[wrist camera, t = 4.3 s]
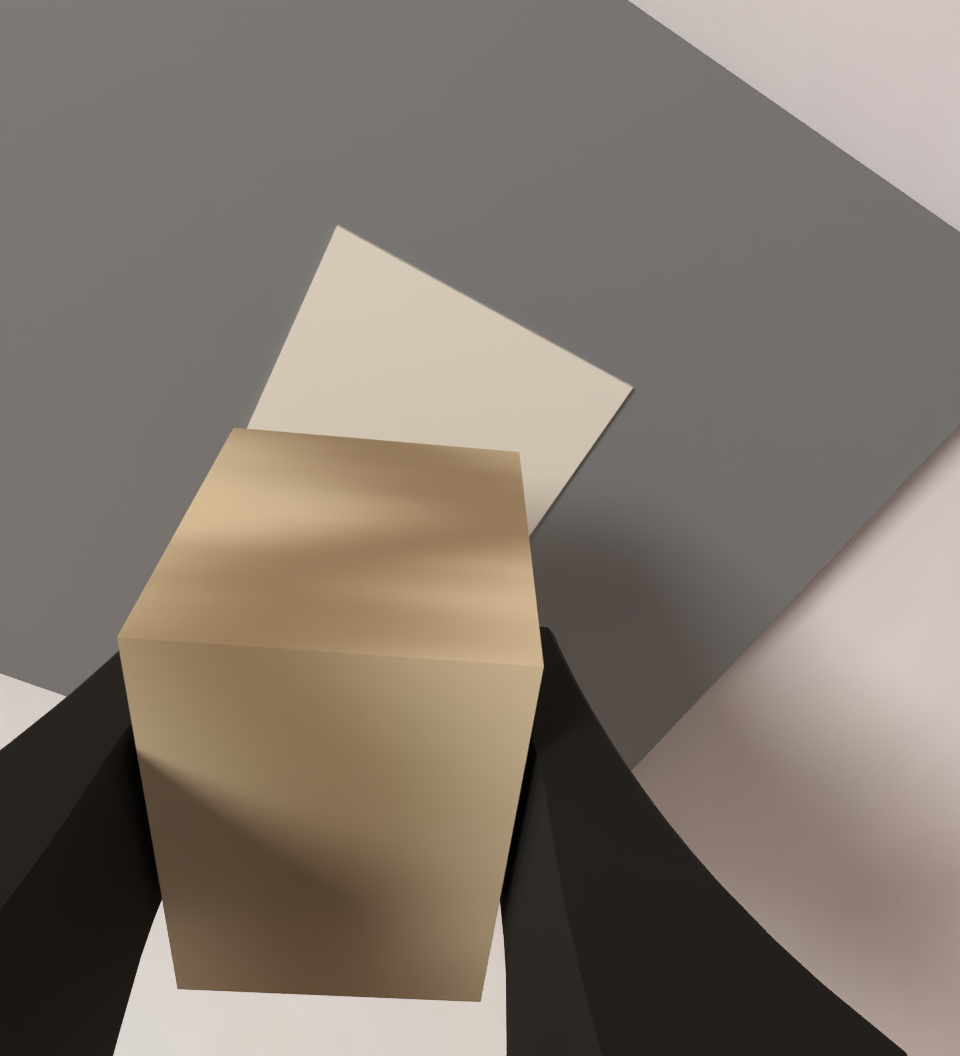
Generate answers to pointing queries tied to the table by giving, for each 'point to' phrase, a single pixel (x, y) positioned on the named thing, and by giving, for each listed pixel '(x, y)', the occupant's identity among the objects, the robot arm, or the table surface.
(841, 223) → the baseplate
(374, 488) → the maple brick
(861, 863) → the table surface
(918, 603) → the table surface
